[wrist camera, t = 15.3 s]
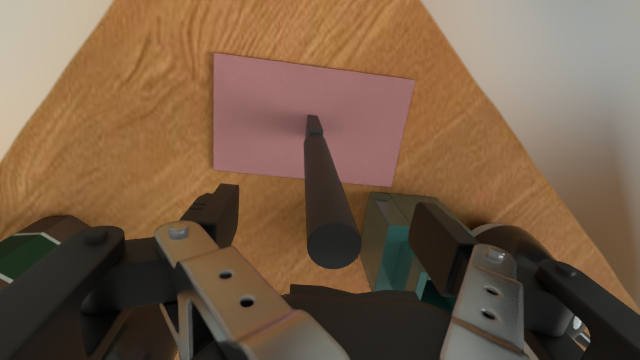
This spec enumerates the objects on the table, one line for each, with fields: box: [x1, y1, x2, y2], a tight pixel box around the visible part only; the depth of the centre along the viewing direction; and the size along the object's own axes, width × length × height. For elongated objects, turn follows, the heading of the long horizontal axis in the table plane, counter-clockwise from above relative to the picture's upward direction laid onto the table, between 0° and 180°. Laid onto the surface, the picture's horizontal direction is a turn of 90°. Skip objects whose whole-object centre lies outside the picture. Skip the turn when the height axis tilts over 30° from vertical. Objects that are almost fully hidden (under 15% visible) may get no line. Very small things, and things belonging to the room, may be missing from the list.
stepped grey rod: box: [303, 115, 362, 269], centre depth 22 cm, size 2×3×25 cm
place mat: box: [213, 53, 415, 187], centre depth 34 cm, size 22×13×1 cm, turn 83°
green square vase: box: [359, 192, 473, 314], centre depth 33 cm, size 9×9×14 cm
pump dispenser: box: [471, 223, 590, 348], centre depth 35 cm, size 10×10×15 cm
